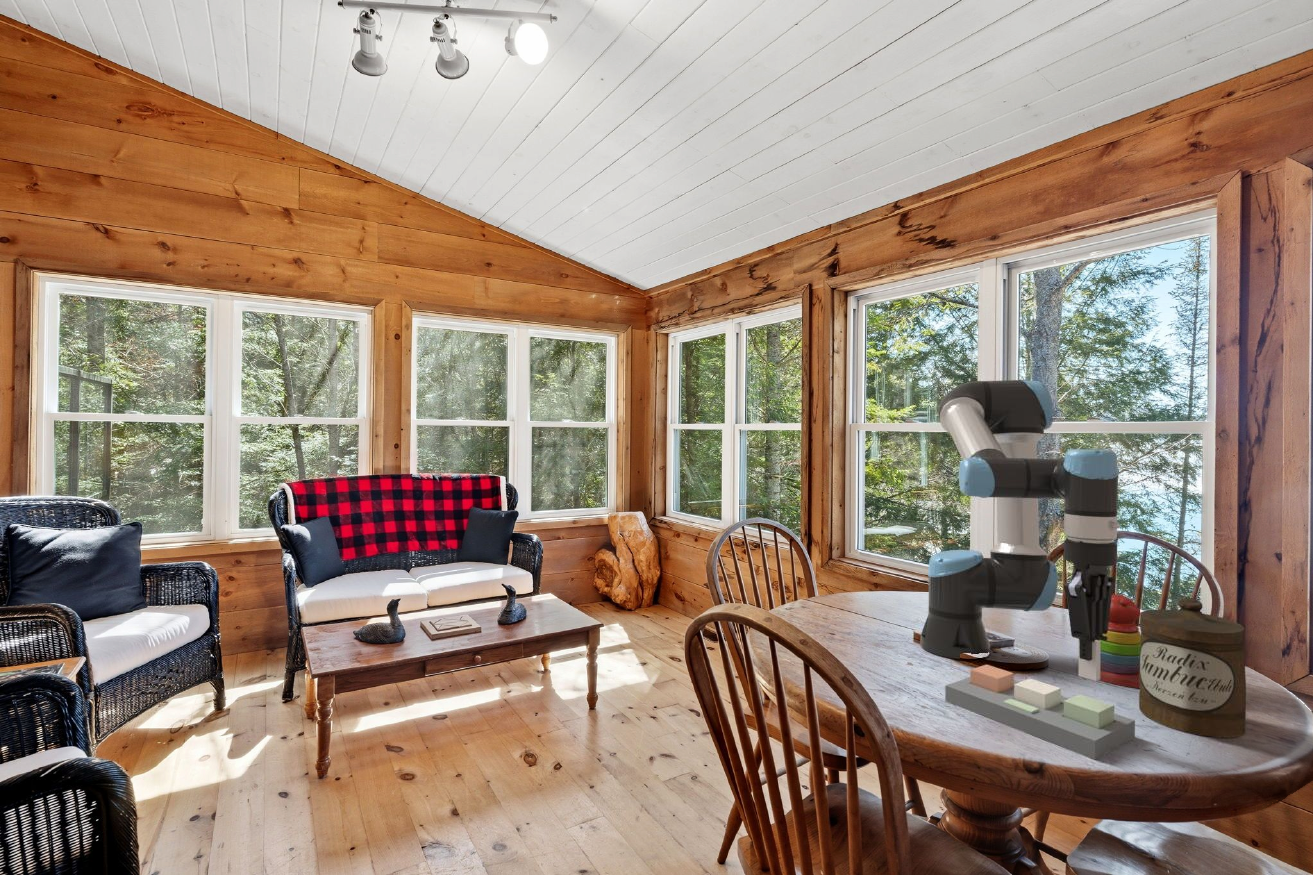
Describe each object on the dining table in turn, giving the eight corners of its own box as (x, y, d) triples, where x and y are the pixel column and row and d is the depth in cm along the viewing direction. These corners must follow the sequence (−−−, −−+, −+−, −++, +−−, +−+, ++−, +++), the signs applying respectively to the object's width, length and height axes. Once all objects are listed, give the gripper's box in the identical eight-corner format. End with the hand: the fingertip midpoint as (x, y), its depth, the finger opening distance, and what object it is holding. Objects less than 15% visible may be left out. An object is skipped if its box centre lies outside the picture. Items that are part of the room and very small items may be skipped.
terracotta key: (970, 684, 125) (970, 669, 125) (986, 679, 128) (986, 664, 127) (997, 694, 120) (997, 678, 120) (1013, 688, 123) (1013, 673, 123)
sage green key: (1063, 718, 110) (1063, 700, 110) (1079, 711, 113) (1079, 694, 113) (1098, 730, 106) (1098, 712, 106) (1113, 722, 109) (1114, 705, 108)
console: (945, 700, 123) (945, 683, 123) (987, 686, 131) (987, 669, 131) (1094, 759, 101) (1095, 738, 101) (1134, 737, 109) (1135, 717, 109)
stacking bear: (1159, 690, 129) (1160, 602, 129) (1103, 686, 131) (1104, 599, 131) (1131, 670, 140) (1132, 589, 140) (1079, 667, 142) (1080, 587, 142)
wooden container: (1127, 715, 117) (1128, 596, 117) (1153, 695, 126) (1154, 584, 126) (1234, 747, 106) (1235, 614, 105) (1254, 723, 115) (1255, 600, 114)
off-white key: (1014, 700, 117) (1014, 684, 117) (1030, 694, 120) (1030, 678, 120) (1044, 711, 113) (1045, 694, 113) (1060, 704, 116) (1060, 688, 116)
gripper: (1096, 546, 103) (1095, 692, 103) (1133, 539, 109) (1132, 677, 109) (1047, 539, 109) (1046, 677, 109) (1085, 533, 116) (1084, 663, 116)
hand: (1089, 677), depth 109 cm, fingers closed
